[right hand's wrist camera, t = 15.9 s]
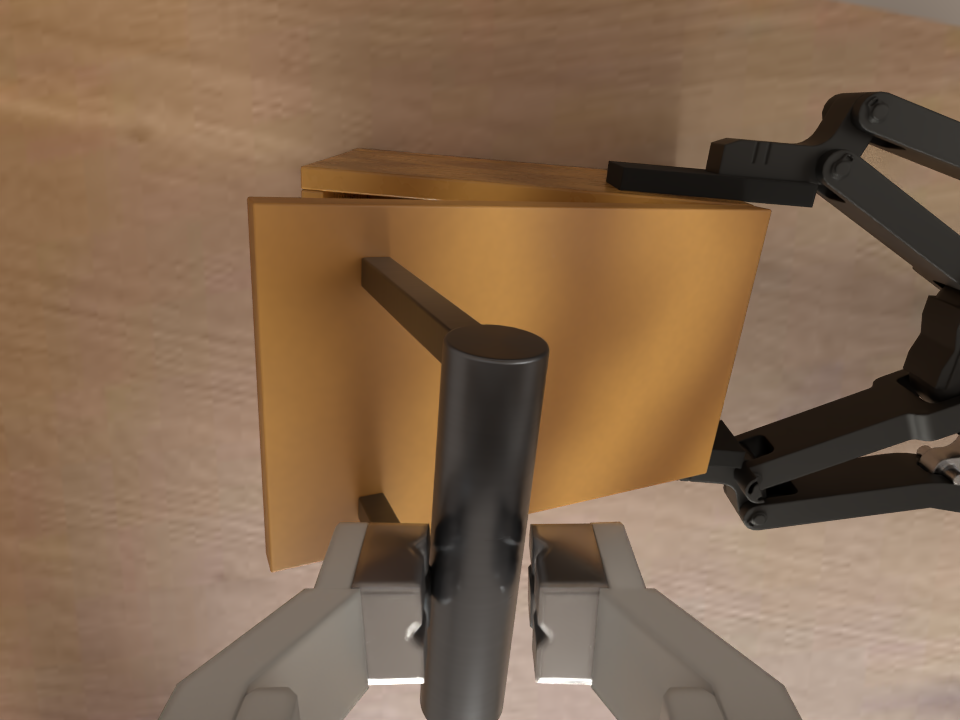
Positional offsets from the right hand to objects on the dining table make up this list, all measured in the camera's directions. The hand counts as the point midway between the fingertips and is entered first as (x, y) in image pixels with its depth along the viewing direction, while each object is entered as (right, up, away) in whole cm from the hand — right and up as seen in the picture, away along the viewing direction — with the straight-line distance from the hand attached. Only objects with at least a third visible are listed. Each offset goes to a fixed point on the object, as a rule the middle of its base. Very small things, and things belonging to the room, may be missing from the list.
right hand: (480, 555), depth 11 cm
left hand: (+4, +5, +13) cm, 15 cm away
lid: (+1, +3, +8) cm, 9 cm away
